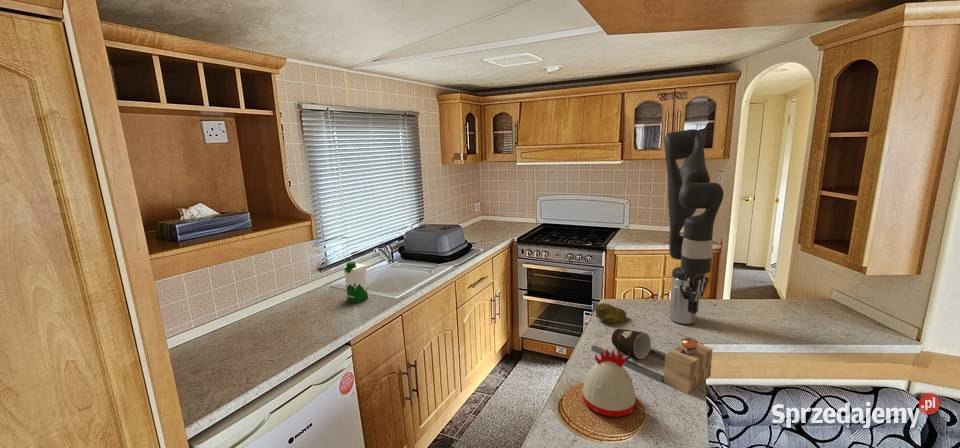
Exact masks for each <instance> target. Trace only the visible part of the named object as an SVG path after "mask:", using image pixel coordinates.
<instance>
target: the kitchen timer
mask: <svg viewBox="0 0 960 448" xmlns="http://www.w3.org/2000/svg"><path fill="white" fill-rule="evenodd" d="M605 350H606V355H605V356H604V355H603V353H602V352H600V354H599V355H600V358H599V357H598V356H597V354H594V359H595V361H596V363H595V364H594V365H593V366H592V367H590V370H589V371H588V373H587V375H586V377H585V380H584V383H583V388H582V400H583V403H584V404H585V406H586V407H588V408H589V409H591V411H594V412H595V413H597V414H601V415H604V416H608V417H624V416H627V415H629V414H632V412H634V410H635V408H636V391H635V387H634V385H633V379H632V378H631V377H630V375H629V373H628V371H627V369H626V368H625V366H624V365H623V364H624V362H625V361H626V358H627V356H624V357H623V358H624V359H621V357H622V350H621V351H620V352H619V355H618V354H617V355H618V357H617V358H616V357H615V355H614V354H615V349H612V351H611V353H612V355H611V357H610V356H609V352H610V351H609V349H608V348H606V349H605ZM608 351H609V352H608Z"/></svg>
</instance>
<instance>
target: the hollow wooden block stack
mask: <svg viewBox="0 0 960 448" xmlns="http://www.w3.org/2000/svg"><path fill="white" fill-rule="evenodd" d="M713 351H714V350H713V348H712V347H709V346H706V345H704V344H701V343H698V346H697V349H694V354H693V355H692V356H688V355H685V354H684V352H685V347H683V346H682V343H681V344H680V345H678V346H677V347H675V348H674V349H672V350H671V351H669V352H667V353H666V355H665V360H664V371H663V376H664V381H663V384H664V385H667V386H670V387H672V388H674V389H676V390H678V391H680V392H683V393H685V394H687V395H688V394H690V393H692V391H693V390H695V389H696V388H697V387H699V386H700V385H701V384H702V383H704V381H706V380H708V379H709V378H710V377H711V370H712V363H713V362H712V359H713Z"/></svg>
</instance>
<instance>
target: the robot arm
mask: <svg viewBox="0 0 960 448" xmlns="http://www.w3.org/2000/svg"><path fill="white" fill-rule="evenodd" d="M663 145H664V146H663V147H664V153H665V164H666V171H667V172H666V173H667V201H668V203H667V204H668V216H669V243H668V245H669V246H668V249H669V250H668V251H669V255H670V258H672V259H674V260H678V261H679V260H680V266H677V267H674V268H673V269H672V273H671V289H670V306H669V318H670V320H671V321H673V322H676V323H679V324H689V325H691V324H694V323H696V321H697V313H698V312H699V301H700V300H701V298H702V297H704V294H705V292H706V291H705V290H706V289H707V286H708V283H709V280H710V278H709V277H706V274H709V273H710V272H711V271H712V262H713V261H712V260H713V259H712V258H713V248H714V247H713V237H714V236H713V234H714V226H715V225H714V224H715V220H716V218H717V214H718V212H719V209H720V207H721V205H722V203H723V199H724V189H723V187H722V185H721V184H719V183H717V182H711V177H710V175H709V172H708V168H707V165H706V157H705V156H706V155H705V148H704V141H703V137H702V134H701V132H700V131H699V130H698V129H694V128H692V129H686V130H679V131H671V132H668V133H666V135H665V137H664V143H663ZM683 159H685V160H684V161H683V162H682V164H681V166H680V167H679V165H678V163H677V160H683ZM697 209H698V210H699V209H702V210H703V209H704V211H703V212H702V213H701V214H698V215H694V214H695V213H696V211H697ZM682 229H683V235H681V234H680V233H681V231H682Z"/></svg>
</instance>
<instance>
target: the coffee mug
mask: <svg viewBox="0 0 960 448" xmlns="http://www.w3.org/2000/svg"><path fill="white" fill-rule="evenodd" d="M611 343H612V346H614V348H617V355H619V352H620V350H621V351H623V352H625V353H627V354H628V355H627V356H626V359H627V360H629V359H631V356H633V357H635V358H636V359H639V360H643V359H645V358H646V357H647V356H648V355H649V354H650V353H649V351H650V348H652V340H651V337H650V335H649V333H647V332H644V331H636V330H631V329H625V328H616V329H615V330H614V331H613V332H612V335H611Z"/></svg>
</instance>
